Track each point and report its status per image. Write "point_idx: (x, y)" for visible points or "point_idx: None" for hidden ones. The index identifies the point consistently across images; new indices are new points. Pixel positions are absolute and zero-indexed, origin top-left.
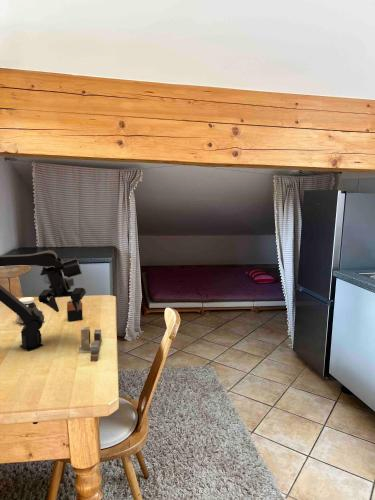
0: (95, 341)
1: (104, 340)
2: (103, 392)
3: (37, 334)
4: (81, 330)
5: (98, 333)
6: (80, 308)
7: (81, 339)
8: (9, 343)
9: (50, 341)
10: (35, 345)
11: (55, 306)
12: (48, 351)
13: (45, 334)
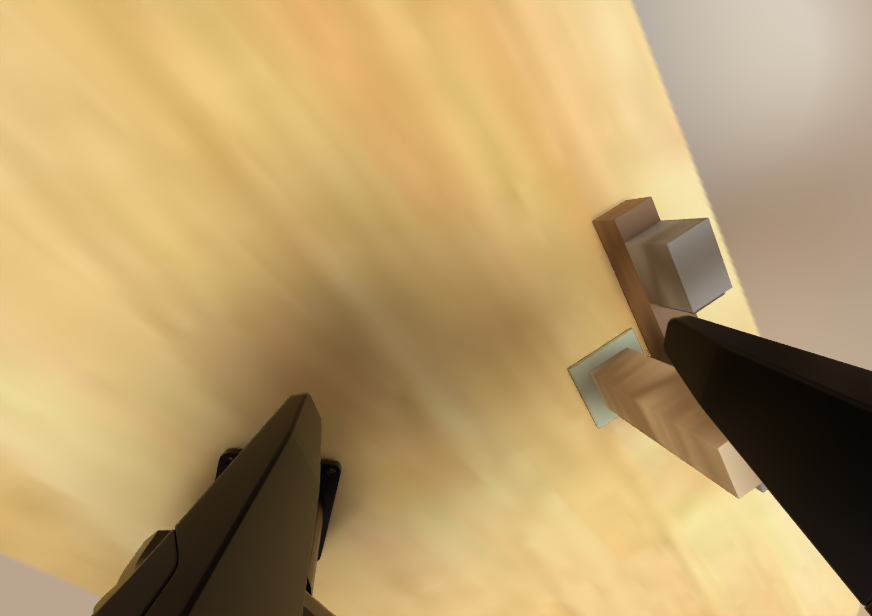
0: (666, 316)
1: None
2: (827, 597)
3: (312, 566)
4: (734, 490)
5: (719, 294)
6: None
7: (667, 446)
8: (73, 550)
9: (328, 386)
10: (322, 522)
11: (285, 547)
12: (431, 493)
13: (177, 306)
